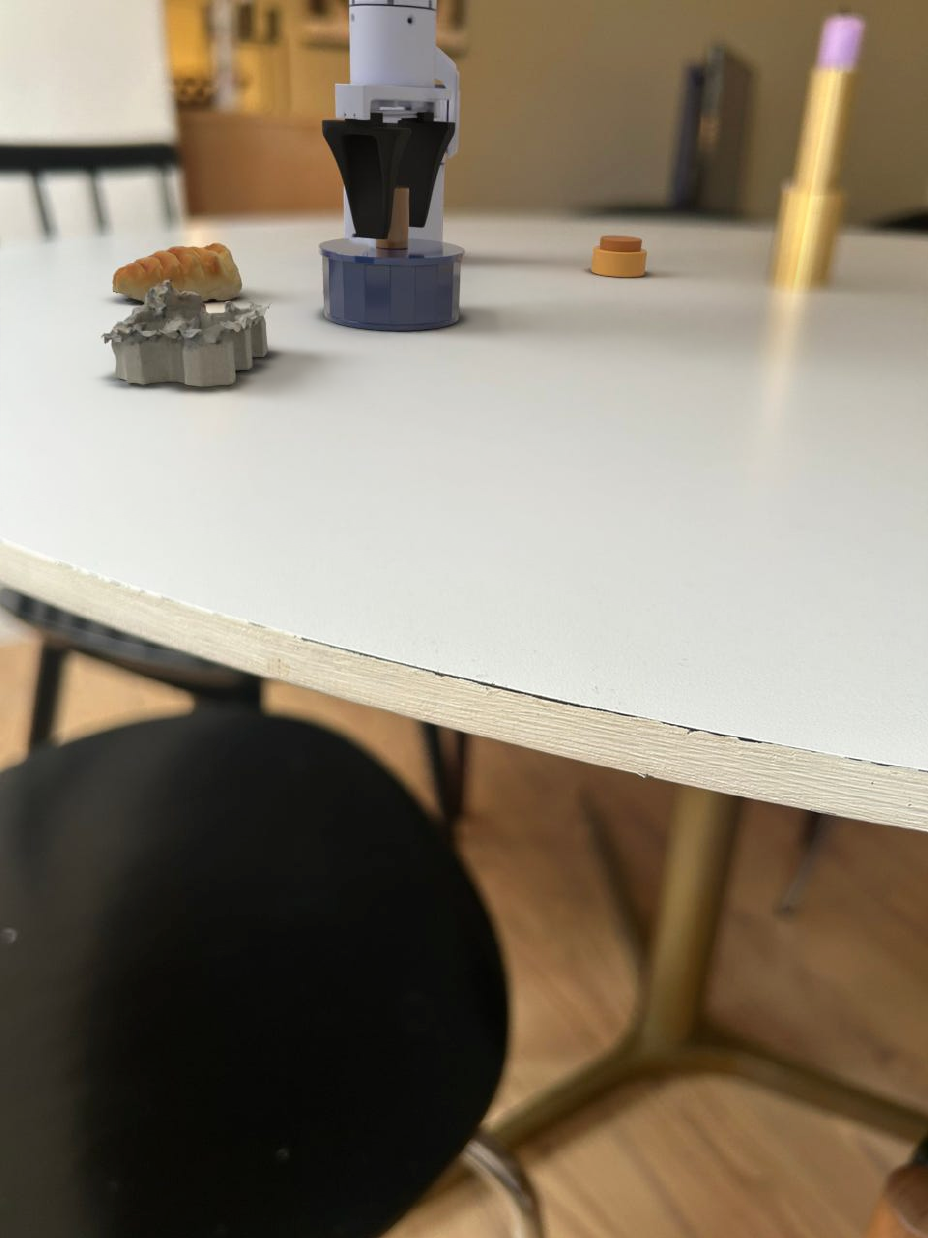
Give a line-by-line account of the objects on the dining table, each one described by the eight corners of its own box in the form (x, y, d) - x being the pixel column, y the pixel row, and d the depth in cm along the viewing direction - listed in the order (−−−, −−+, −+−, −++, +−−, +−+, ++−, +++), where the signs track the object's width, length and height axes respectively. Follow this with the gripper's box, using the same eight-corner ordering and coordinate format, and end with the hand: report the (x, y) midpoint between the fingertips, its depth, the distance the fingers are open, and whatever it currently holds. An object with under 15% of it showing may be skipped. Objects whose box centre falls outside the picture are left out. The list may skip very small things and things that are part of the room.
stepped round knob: (586, 274, 93) (589, 238, 91) (596, 266, 97) (599, 232, 96) (639, 279, 92) (644, 243, 90) (647, 271, 96) (651, 237, 94)
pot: (301, 321, 69) (298, 257, 67) (357, 298, 78) (356, 240, 76) (432, 336, 67) (434, 269, 65) (475, 310, 75) (477, 251, 73)
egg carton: (172, 342, 62) (166, 276, 61) (284, 350, 62) (281, 284, 60) (93, 383, 53) (82, 306, 51) (224, 393, 52) (218, 316, 50)
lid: (293, 266, 67) (290, 186, 65) (354, 247, 76) (353, 177, 74) (436, 280, 65) (438, 197, 62) (482, 259, 74) (485, 186, 71)
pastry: (134, 310, 70) (127, 254, 69) (100, 295, 75) (92, 243, 73) (250, 298, 76) (246, 247, 74) (211, 285, 80) (207, 236, 78)
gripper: (411, -1, 56) (408, 248, 62) (483, 19, 68) (474, 225, 74) (301, -3, 57) (309, 239, 64) (390, 17, 70) (389, 218, 76)
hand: (392, 231), depth 69 cm, fingers open, 7 cm apart
